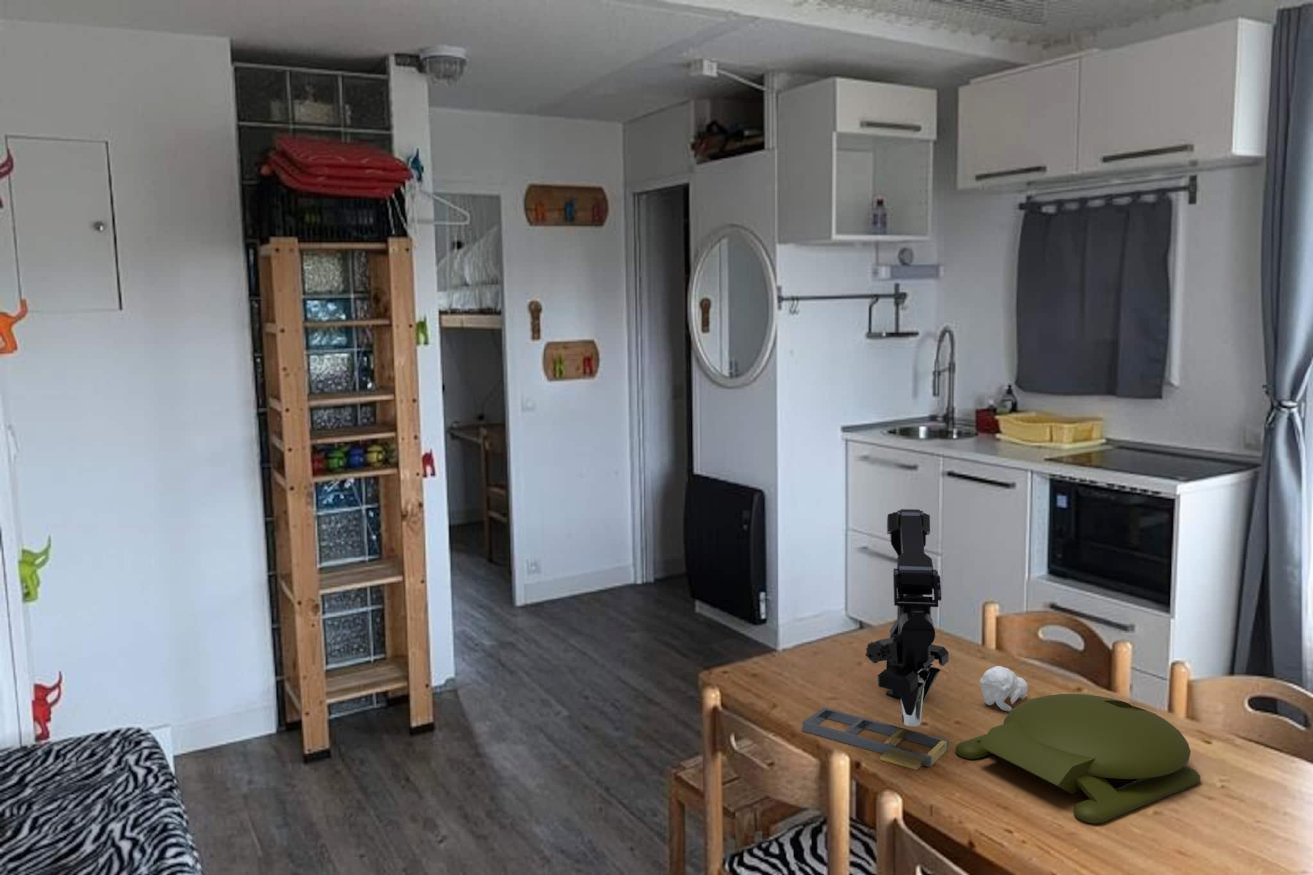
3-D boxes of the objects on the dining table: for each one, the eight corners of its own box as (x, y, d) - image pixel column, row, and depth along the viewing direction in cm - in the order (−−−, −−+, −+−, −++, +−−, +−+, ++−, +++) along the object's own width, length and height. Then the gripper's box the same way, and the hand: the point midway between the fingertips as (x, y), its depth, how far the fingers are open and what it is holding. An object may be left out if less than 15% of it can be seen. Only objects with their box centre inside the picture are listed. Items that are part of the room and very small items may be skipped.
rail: (829, 711, 198) (829, 703, 198) (953, 744, 182) (953, 735, 182) (796, 735, 187) (796, 726, 187) (924, 772, 171) (924, 762, 171)
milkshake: (929, 729, 176) (930, 677, 175) (899, 727, 178) (900, 675, 176) (927, 719, 181) (928, 668, 180) (898, 717, 182) (899, 666, 181)
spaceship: (1093, 831, 152) (1095, 773, 151) (949, 754, 179) (949, 704, 178) (1228, 776, 168) (1231, 722, 167) (1077, 712, 195) (1078, 666, 194)
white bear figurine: (978, 665, 197) (1011, 656, 205) (975, 705, 198) (1008, 695, 205) (1006, 674, 192) (1038, 664, 200) (1002, 715, 193) (1035, 704, 200)
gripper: (894, 608, 189) (894, 684, 191) (850, 636, 174) (850, 718, 176) (950, 618, 182) (948, 697, 184) (909, 648, 167) (908, 733, 170)
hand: (913, 710), depth 179 cm, fingers closed on milkshake, 4 cm apart
